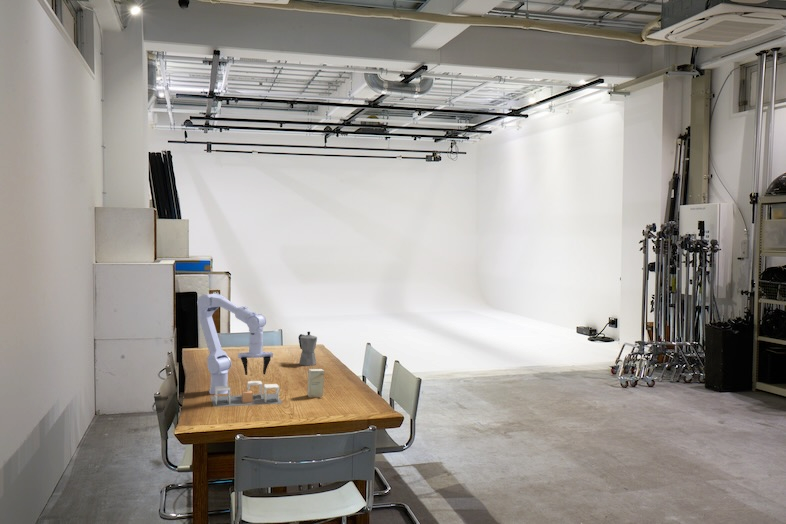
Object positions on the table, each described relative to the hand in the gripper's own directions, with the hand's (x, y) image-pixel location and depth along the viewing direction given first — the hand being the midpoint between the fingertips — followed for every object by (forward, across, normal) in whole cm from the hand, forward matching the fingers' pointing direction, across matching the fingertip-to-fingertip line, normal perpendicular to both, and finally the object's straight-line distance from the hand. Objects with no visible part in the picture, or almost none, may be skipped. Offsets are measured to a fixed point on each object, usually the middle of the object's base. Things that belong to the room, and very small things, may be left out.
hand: (255, 374), depth 285 cm
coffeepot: (+11, +37, +69) cm, 79 cm away
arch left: (+10, -14, -7) cm, 18 cm away
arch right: (+10, +6, -7) cm, 13 cm away
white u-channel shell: (+10, 0, 0) cm, 10 cm away
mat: (+10, -4, -4) cm, 12 cm away
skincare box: (+11, +26, -3) cm, 28 cm away
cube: (+10, -4, -7) cm, 13 cm away
